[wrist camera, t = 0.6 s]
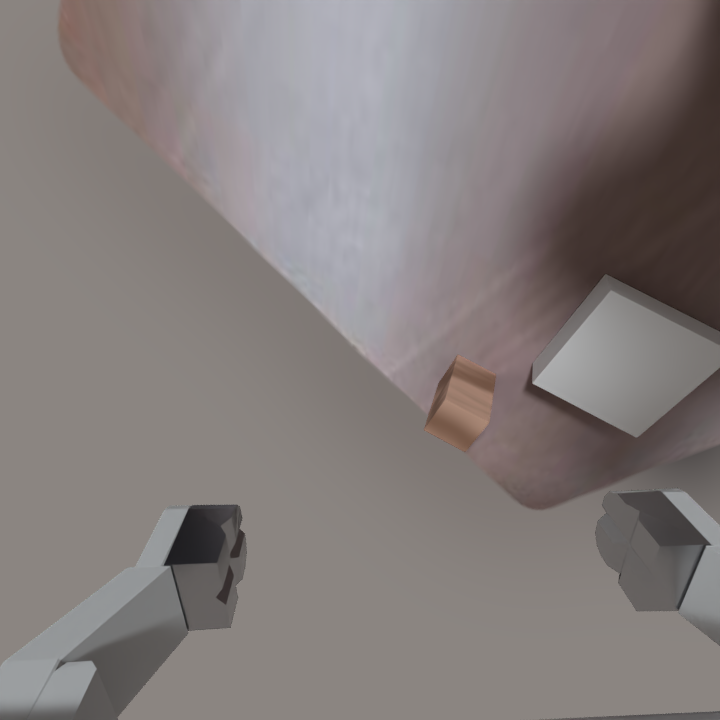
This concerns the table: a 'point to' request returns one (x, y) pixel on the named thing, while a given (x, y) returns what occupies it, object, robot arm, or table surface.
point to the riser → (627, 357)
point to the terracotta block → (461, 404)
